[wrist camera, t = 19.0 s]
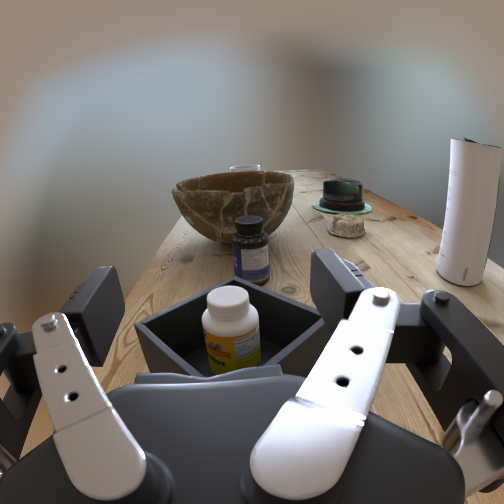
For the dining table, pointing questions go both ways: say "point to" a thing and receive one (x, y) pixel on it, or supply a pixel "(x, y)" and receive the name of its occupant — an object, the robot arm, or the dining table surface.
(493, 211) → the speaker
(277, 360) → the open storage box
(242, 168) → the planter
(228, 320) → the supplement bottle
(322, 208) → the fedora hat
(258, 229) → the pill bottle
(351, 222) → the cake
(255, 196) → the bowl
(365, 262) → the dining table surface
